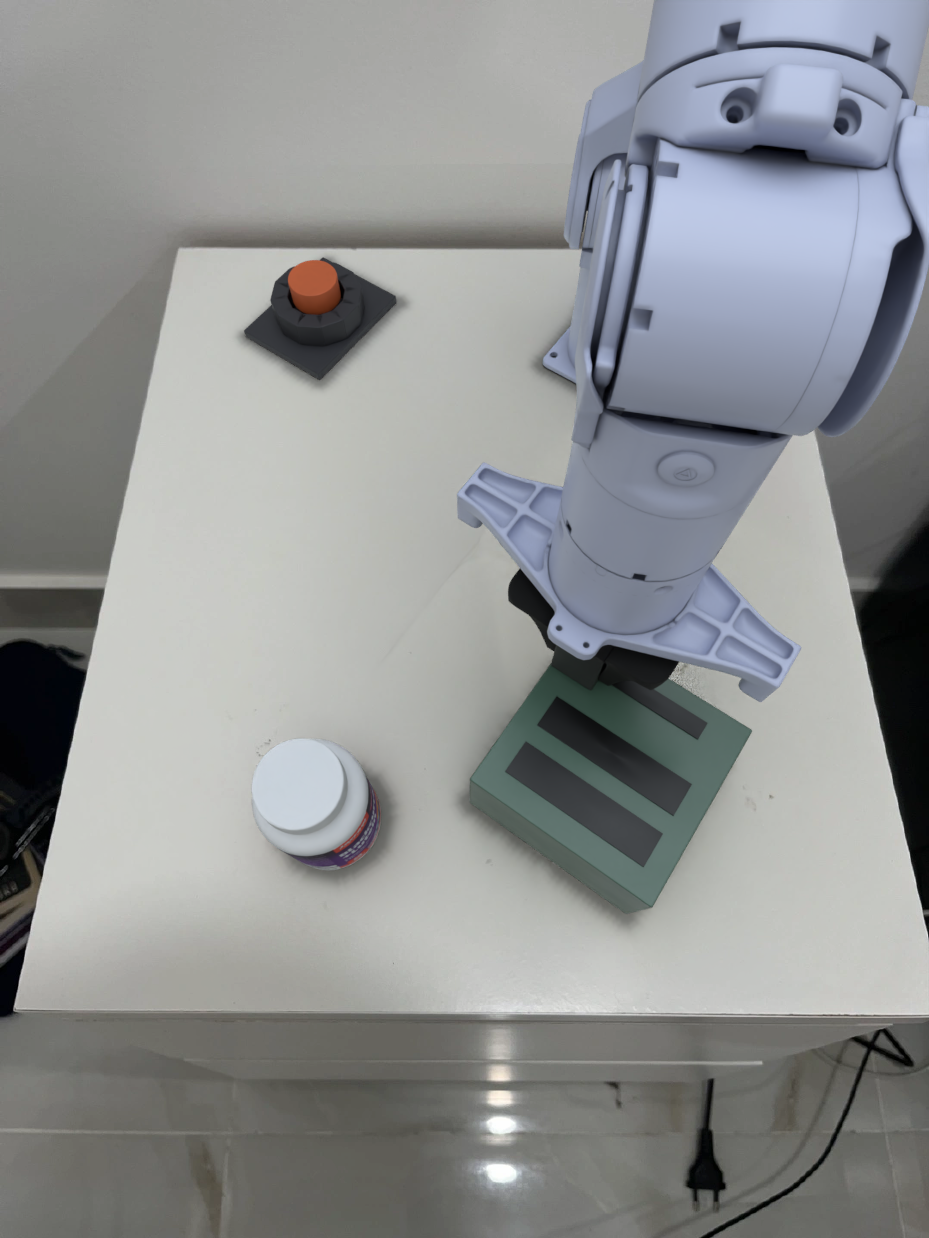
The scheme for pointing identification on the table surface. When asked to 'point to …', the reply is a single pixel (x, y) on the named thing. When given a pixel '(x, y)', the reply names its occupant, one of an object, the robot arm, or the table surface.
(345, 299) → the control pad
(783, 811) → the table surface
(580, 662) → the toaster slider
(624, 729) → the toaster
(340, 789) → the pill bottle
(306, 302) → the button
